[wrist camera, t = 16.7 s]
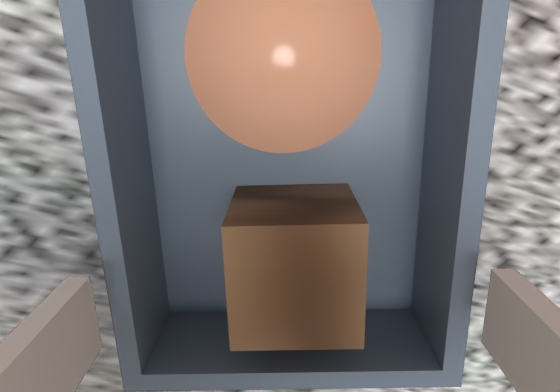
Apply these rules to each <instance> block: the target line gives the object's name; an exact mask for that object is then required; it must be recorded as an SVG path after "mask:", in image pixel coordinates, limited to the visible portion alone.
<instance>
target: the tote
mask: <svg viewBox="0 0 560 392" xmlns="http://www.w3.org/2000/svg"><path fill="white" fill-rule="evenodd" d="M370 1H371V3H372V6H373V8H374V10H375V13H376V16H377V20H378V23H379V28H380V34H381V50H382V55H381V64H380V70H379V74H378V79H377V82H376V85H375V87H374V90H373V93H372V95H371V97H370V99H369V101H368V103H367V105H366V106H365V107H364V109H363V110H362V112H361V113H360V115H359V116H358V117H357V118H356V119H355V121H354V122H353V123H352V124H351V125H350V126H349V127H348V128H347V129H345V130H344V131H343V132H342V133H341V134H339V135H338V136H336V137H335V138H333V139H332V140H330V141H328V142H326V143H324V144H322V145H320V146H318V147H315V148H312V149H309V150H305V151H301V152H295V153H271V152H265V151H260V150H257V149H253V148H250V147H248V146H246V145H243V144H241V143H239V142H237V141H236V140H234V139H232V138H231V137H229V136H228V135H226V134H225V133H224V132H223V131H221V130H220V129H219V128H218V127H217V126H216V125H215V124H214V123H213V122H212V121H211V120H210V119H209V118H208V116H207V115H206V114H205V112H204V111H203V110H202V108H201V106H200V105H199V103H198V101H197V99H196V98H195V95H194V93H193V90H192V88H191V86H190V82H189V79H188V75H187V71H186V64H185V49H184V45H185V34H186V29H187V24H188V20H189V17H190V14H191V11H192V8H193V6H194V4H195V2H196V0H58V4H59V10H60V16H61V22H62V28H63V34H64V39H65V45H66V51H67V57H68V63H69V69H70V75H71V81H72V87H73V92H74V98H75V104H76V110H77V116H78V122H79V128H80V134H81V139H82V145H83V151H84V157H85V163H86V169H87V175H88V181H89V187H90V192H91V198H92V204H93V210H94V216H95V222H96V228H97V234H98V240H99V245H100V251H101V257H102V263H103V269H104V275H105V281H106V287H107V292H108V298H109V304H110V310H111V316H112V322H113V328H114V334H115V340H116V345H117V351H118V357H119V363H120V369H121V375H122V381H123V387H124V391H191V390H263V389H334V388H406V387H461V384H462V376H463V368H464V360H465V352H466V344H467V336H468V328H469V320H470V312H471V304H472V296H473V288H474V281H475V273H476V265H477V257H478V249H479V241H480V233H481V225H482V217H483V209H484V201H485V193H486V185H487V177H488V169H489V161H490V153H491V146H492V138H493V130H494V122H495V114H496V106H497V98H498V90H499V82H500V74H501V66H502V58H503V50H504V42H505V34H506V26H507V18H508V11H509V3H510V0H370ZM334 183H348V185H349V186H350V188H351V190H352V192H353V194H354V196H355V198H356V200H357V202H358V204H359V206H360V207H361V209H362V211H363V213H364V215H365V217H366V219H367V221H368V223H369V237H368V262H367V287H366V312H365V338H364V349H331V350H267V351H230V343H229V329H228V316H227V302H226V289H225V275H224V262H223V248H222V235H221V225H222V223H223V220H224V218H225V215H226V212H227V210H228V207H229V205H230V202H231V200H232V197H233V194H234V192H235V189H236V187H237V186H246V185H290V184H334Z"/></svg>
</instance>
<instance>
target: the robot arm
mask: <svg viewBox="0 0 560 392" xmlns="http://www.w3.org/2000/svg"><path fill="white" fill-rule="evenodd" d="M481 342H482V343H483V345H484V346H485V347H486V349H487V350H488V352H489V353H490V354H491V356H492V357H493V359H494V360H495V362H496V363H497V364H498V366H499V367H500V369H501V370H502V371H503V373H504V374H505V376H506V377H507V379H508V380H509V381H510V383H511V384H512V386H513V387H514V388H515V390H516V391H517V392H560V308H559V307H557V306H556V305H555V304H554V303H553V302H552V301H551V300H550V299H548V298H547V297H546V296H545V295H544V294H543V293H542V292H541V291H540V290H538V289H537V288H536V287H535V286H534V285H533V284H532V283H531V282H529V281H528V280H527V279H526V278H525V277H524V276H523V275H522V274H520V273H519V272H518V271H517V270H516V269H491V275H490V283H489V290H488V297H487V304H486V311H485V319H484V326H483V333H482V340H481ZM102 348H103V347H102V342H101V336H100V331H99V325H98V320H97V314H96V309H95V303H94V298H93V292H92V287H91V281H90V277H66V278H65V279H64V280H63V281H62V282H61V283H60V284H59V285H58V286H57V287H56V288H55V289H54V290H53V291H52V292H51V293H50V294H49V295H48V296H47V297H46V298H45V299H44V300H43V301H42V302H41V303H40V304H39V305H38V306H37V307H36V308H35V309H34V310H33V311H32V312H31V313H30V314H29V315H28V316H27V317H26V318H25V319H24V320H23V321H22V322H21V323H20V324H19V325H18V326H17V327H16V328H15V329H14V330H13V331H12V332H11V333H10V334H9V335H8V336H7V337H6V338H5V339H3V340H2V341H1V342H0V392H74V391H75V390H76V388H77V387H78V385H79V384H80V382H81V380H82V379H83V377H84V376H85V374H86V373H87V371H88V370H89V368H90V366H91V365H92V363H93V362H94V360H95V359H96V357H97V355H98V354H99V352H100V351H101V349H102Z"/></svg>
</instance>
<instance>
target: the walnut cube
mask: <svg viewBox="0 0 560 392" xmlns="http://www.w3.org/2000/svg"><path fill="white" fill-rule="evenodd" d="M221 235H222V248H223V262H224V275H225V289H226V302H227V316H228V329H229V343H230V351H267V350H331V349H364V338H365V312H366V287H367V262H368V237H369V223H368V221H367V219H366V217H365V215H364V213H363V211H362V209H361V207H360V206H359V204H358V202H357V200H356V198H355V196H354V194H353V192H352V190H351V188H350V186H349V185H348V183H334V184H290V185H246V186H237V187H236V189H235V192H234V194H233V197H232V200H231V202H230V205H229V207H228V210H227V212H226V215H225V218H224V220H223V223H222V225H221Z"/></svg>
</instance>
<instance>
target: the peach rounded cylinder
mask: <svg viewBox="0 0 560 392" xmlns="http://www.w3.org/2000/svg"><path fill="white" fill-rule="evenodd" d="M184 49H185V64H186V71H187V75H188V79H189V82H190V86H191V88H192V90H193V93H194V95H195V98H196V99H197V101H198V103H199V105H200V106H201V108H202V110H203V111H204V112H205V114H206V115H207V116H208V118H209V119H210V120H211V121H212V122H213V123H214V124H215V125H216V126H217V127H218V128H219V129H220V130H221V131H223V132H224V133H225V134H226V135H228V136H229V137H231V138H232V139H234V140H236V141H237V142H239V143H241V144H243V145H246V146H248V147H250V148H253V149H257V150H260V151H265V152H271V153H295V152H301V151H305V150H309V149H312V148H315V147H318V146H320V145H322V144H324V143H326V142H328V141H330V140H332V139H333V138H335V137H336V136H338V135H339V134H341V133H342V132H343V131H344V130H345V129H347V128H348V127H349V126H350V125H351V124H352V123H353V122H354V121H355V119H356V118H357V117H358V116H359V115H360V113H361V112H362V110H363V109H364V107H365V106H366V105H367V103H368V101H369V99H370V97H371V95H372V93H373V90H374V87H375V85H376V82H377V79H378V74H379V70H380V64H381V55H382V50H381V34H380V28H379V23H378V20H377V16H376V13H375V10H374V8H373V6H372V3H371V1H370V0H196V2H195V4H194V6H193V8H192V11H191V14H190V17H189V20H188V24H187V29H186V34H185V45H184Z"/></svg>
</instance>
